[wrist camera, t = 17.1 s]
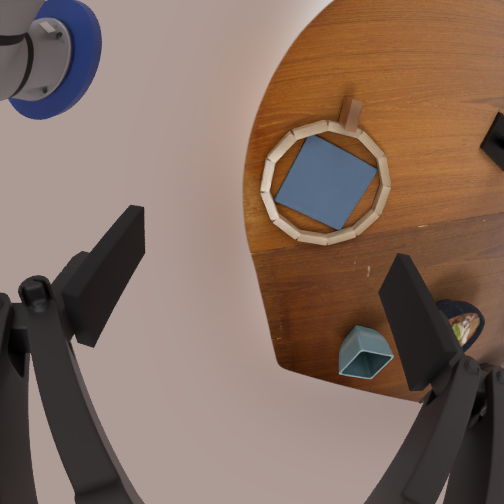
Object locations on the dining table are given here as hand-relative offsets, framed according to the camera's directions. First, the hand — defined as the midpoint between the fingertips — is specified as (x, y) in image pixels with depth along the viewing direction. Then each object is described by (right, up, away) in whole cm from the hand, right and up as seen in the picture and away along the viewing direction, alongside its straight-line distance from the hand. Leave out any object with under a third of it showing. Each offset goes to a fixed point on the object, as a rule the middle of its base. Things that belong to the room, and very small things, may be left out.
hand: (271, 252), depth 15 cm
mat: (+10, +10, +30) cm, 34 cm away
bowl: (+42, -14, +44) cm, 62 cm away
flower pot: (+23, -18, +49) cm, 57 cm away
